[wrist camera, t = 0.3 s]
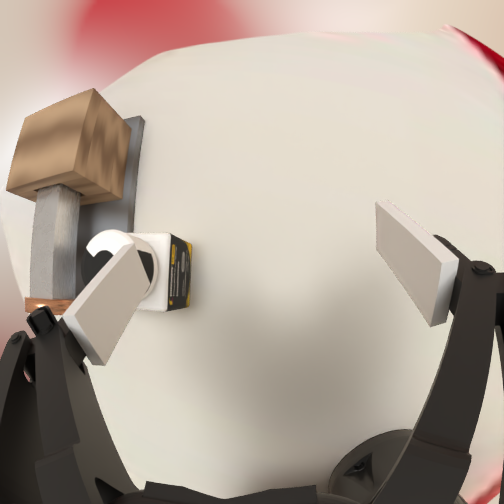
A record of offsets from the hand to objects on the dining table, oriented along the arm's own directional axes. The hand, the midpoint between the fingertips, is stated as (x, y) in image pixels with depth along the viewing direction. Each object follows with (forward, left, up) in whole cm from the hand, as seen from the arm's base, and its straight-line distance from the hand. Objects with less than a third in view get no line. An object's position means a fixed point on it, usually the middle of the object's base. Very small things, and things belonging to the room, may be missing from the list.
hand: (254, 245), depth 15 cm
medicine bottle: (0, +12, -17) cm, 21 cm away
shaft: (+4, +23, -13) cm, 27 cm away
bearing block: (+8, +23, -16) cm, 29 cm away
